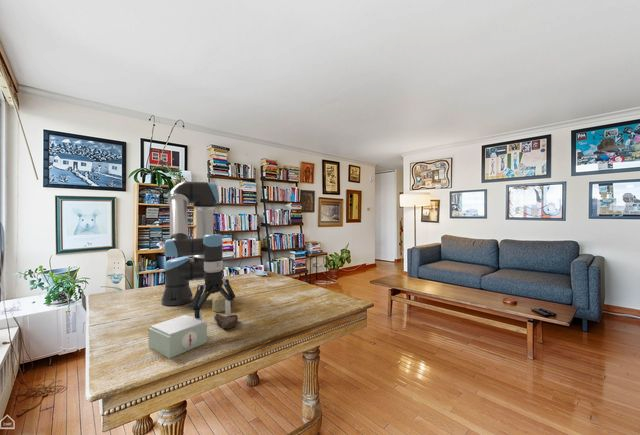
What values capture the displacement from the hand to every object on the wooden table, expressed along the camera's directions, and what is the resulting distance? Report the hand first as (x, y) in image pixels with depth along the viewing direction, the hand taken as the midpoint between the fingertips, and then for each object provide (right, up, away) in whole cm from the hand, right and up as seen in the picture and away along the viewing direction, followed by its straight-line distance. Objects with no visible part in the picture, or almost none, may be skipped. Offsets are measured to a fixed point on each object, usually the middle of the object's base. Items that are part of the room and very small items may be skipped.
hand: (214, 320), depth 117 cm
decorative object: (-5, -3, +19) cm, 19 cm away
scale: (-7, -3, -16) cm, 17 cm away
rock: (-1, -2, 0) cm, 2 cm away
